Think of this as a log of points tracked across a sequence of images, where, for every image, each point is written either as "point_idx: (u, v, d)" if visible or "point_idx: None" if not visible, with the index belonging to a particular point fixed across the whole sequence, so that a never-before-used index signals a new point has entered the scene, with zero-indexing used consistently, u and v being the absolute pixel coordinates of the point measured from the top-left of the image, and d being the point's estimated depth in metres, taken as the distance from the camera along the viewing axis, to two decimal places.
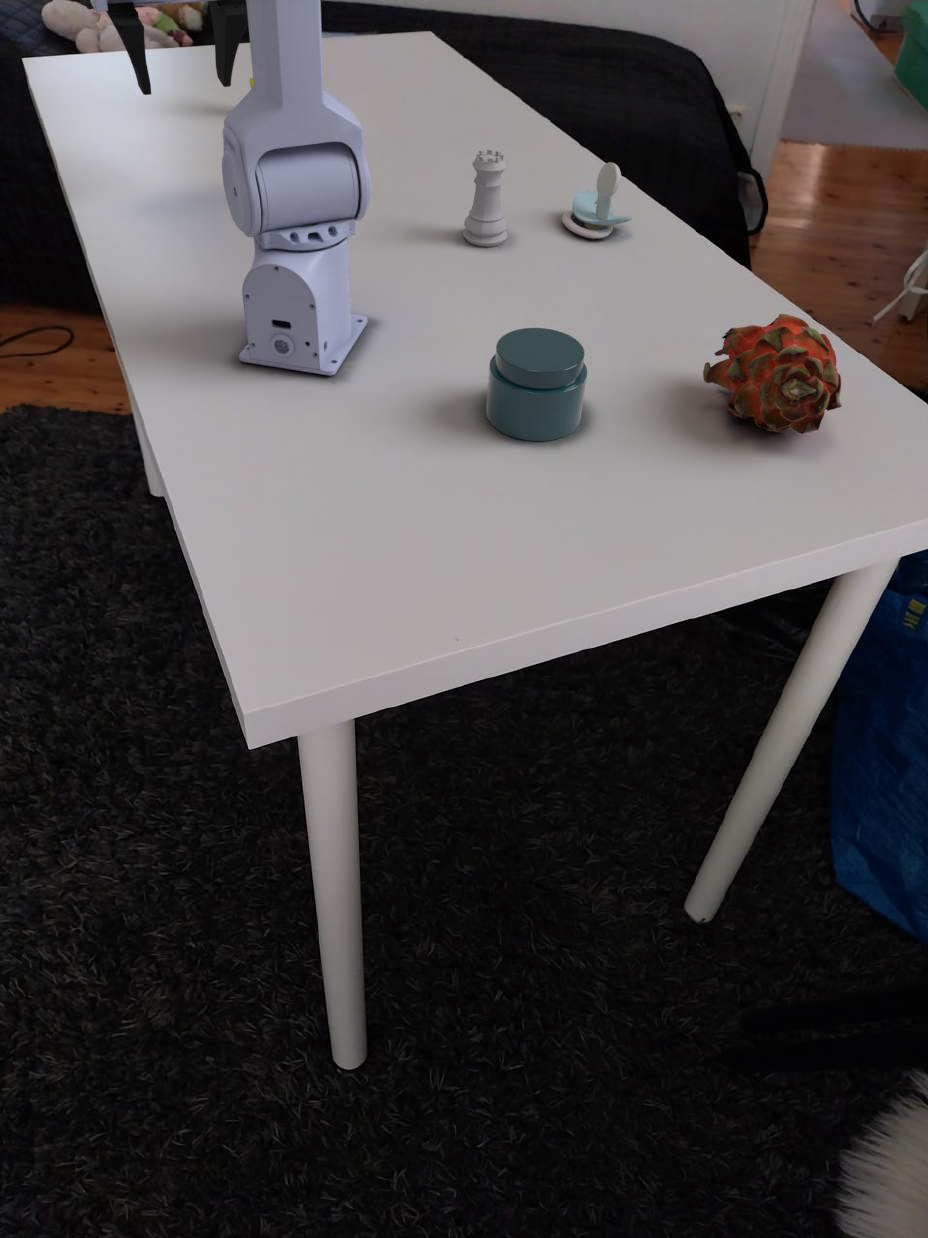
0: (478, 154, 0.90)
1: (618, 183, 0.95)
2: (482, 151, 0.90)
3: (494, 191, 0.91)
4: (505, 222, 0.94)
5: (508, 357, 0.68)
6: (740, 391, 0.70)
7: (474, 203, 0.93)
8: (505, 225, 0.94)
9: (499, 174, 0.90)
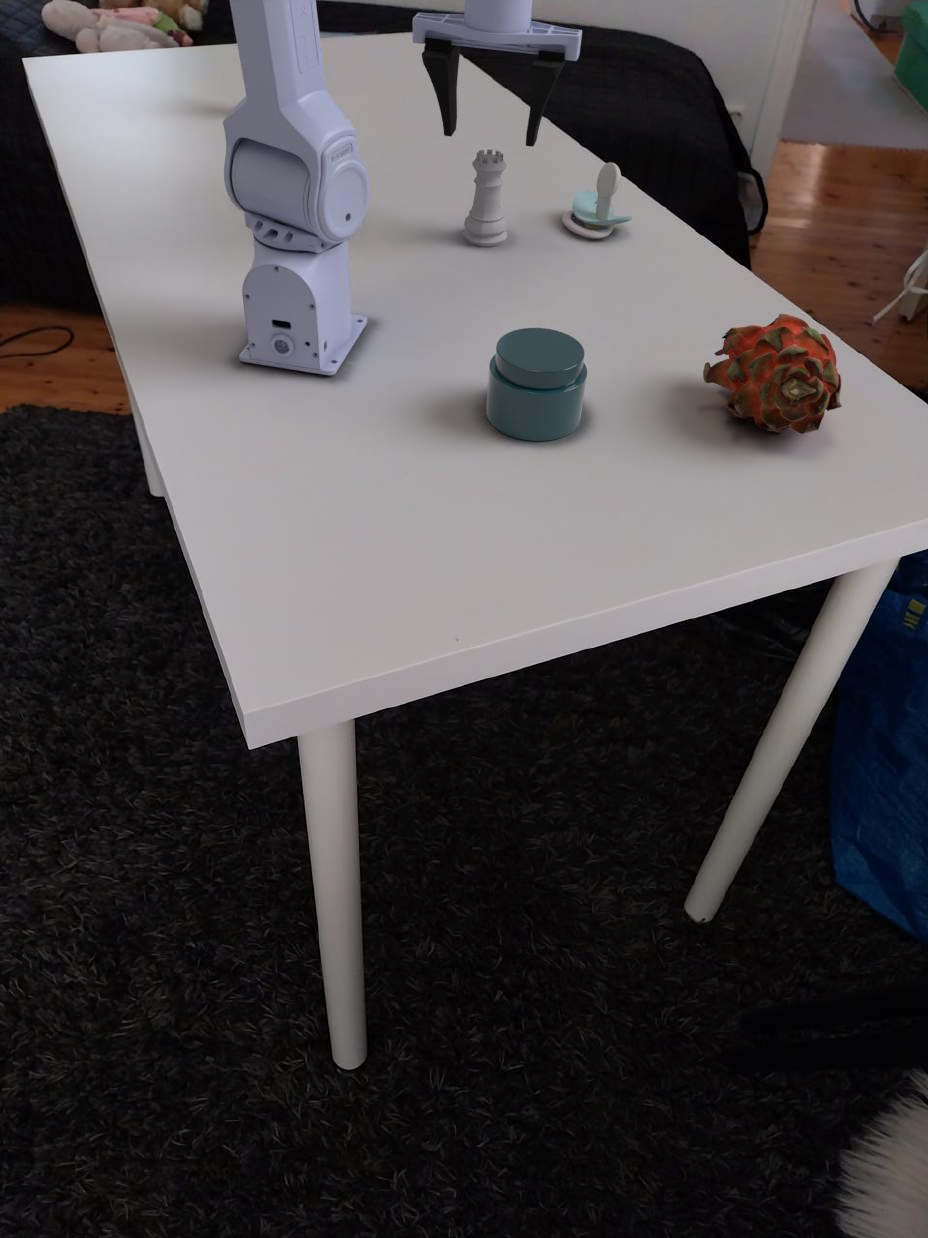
0: (478, 154, 0.90)
1: (618, 183, 0.95)
2: (482, 151, 0.90)
3: (494, 191, 0.91)
4: (505, 222, 0.94)
5: (508, 357, 0.68)
6: (740, 391, 0.70)
7: (474, 203, 0.93)
8: (505, 225, 0.94)
9: (499, 174, 0.90)
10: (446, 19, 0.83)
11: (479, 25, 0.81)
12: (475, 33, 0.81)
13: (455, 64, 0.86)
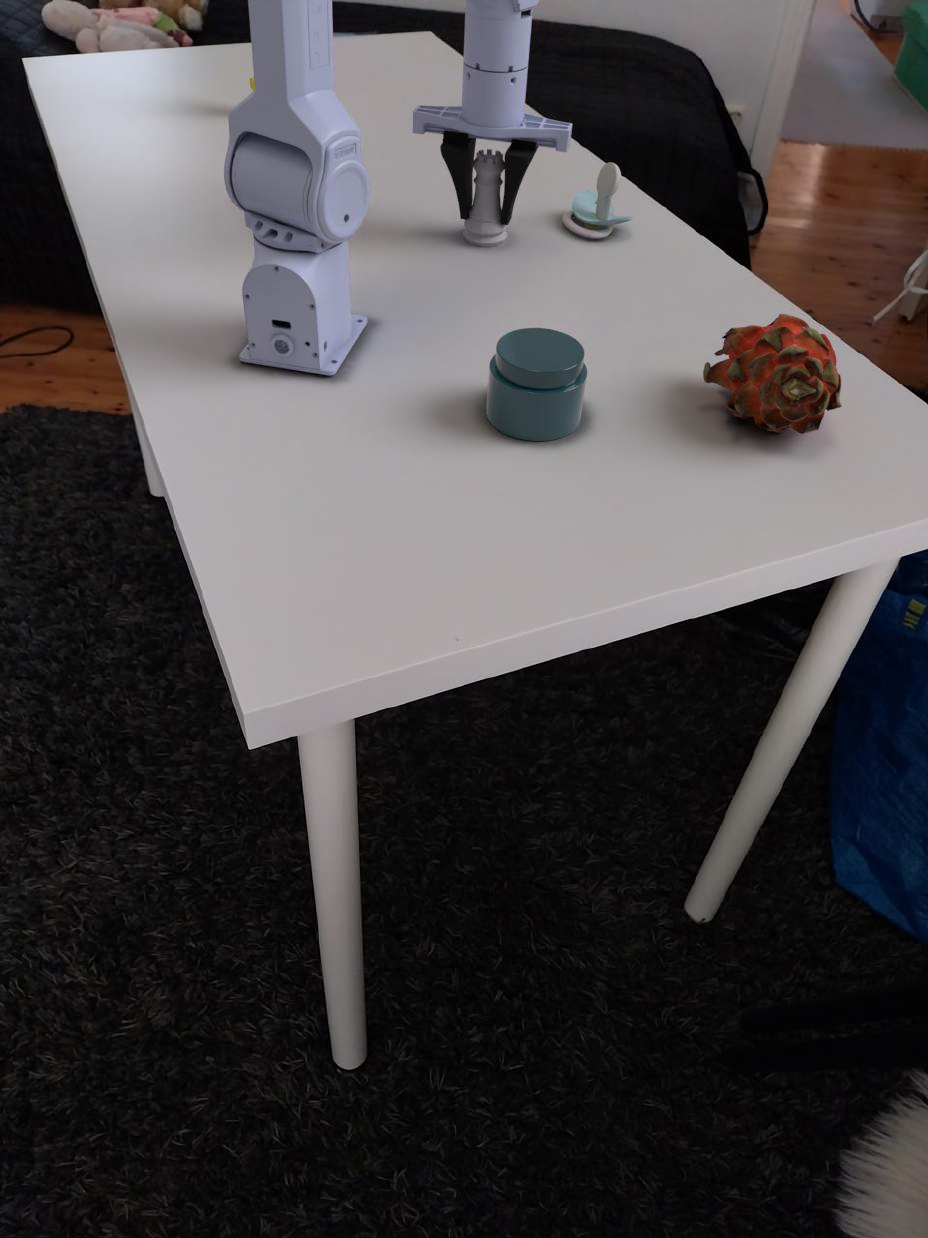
0: (478, 154, 0.90)
1: (618, 183, 0.95)
2: (482, 151, 0.90)
3: (494, 191, 0.91)
4: None
5: (508, 357, 0.68)
6: (740, 391, 0.70)
7: (474, 203, 0.93)
8: (505, 225, 0.94)
9: (499, 174, 0.90)
10: (444, 112, 0.88)
11: (475, 120, 0.86)
12: (471, 127, 0.86)
13: (471, 154, 0.91)
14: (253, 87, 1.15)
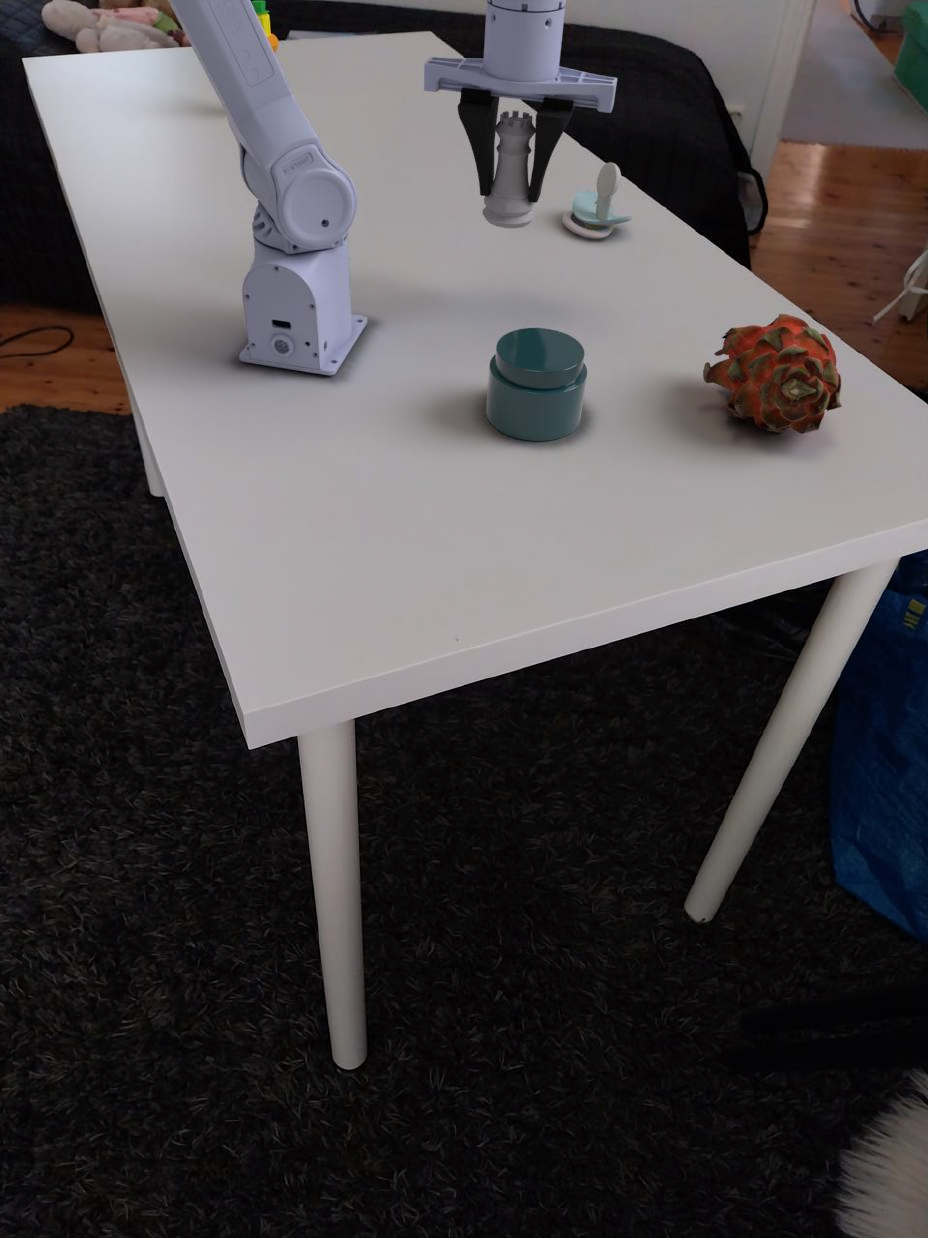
0: (502, 116, 0.75)
1: (618, 183, 0.95)
2: (507, 113, 0.75)
3: (521, 161, 0.76)
4: None
5: (508, 357, 0.68)
6: (740, 391, 0.70)
7: (496, 176, 0.78)
8: (533, 202, 0.79)
9: (527, 140, 0.75)
10: (462, 65, 0.73)
11: (501, 73, 0.71)
12: (496, 82, 0.71)
13: (494, 116, 0.76)
14: None
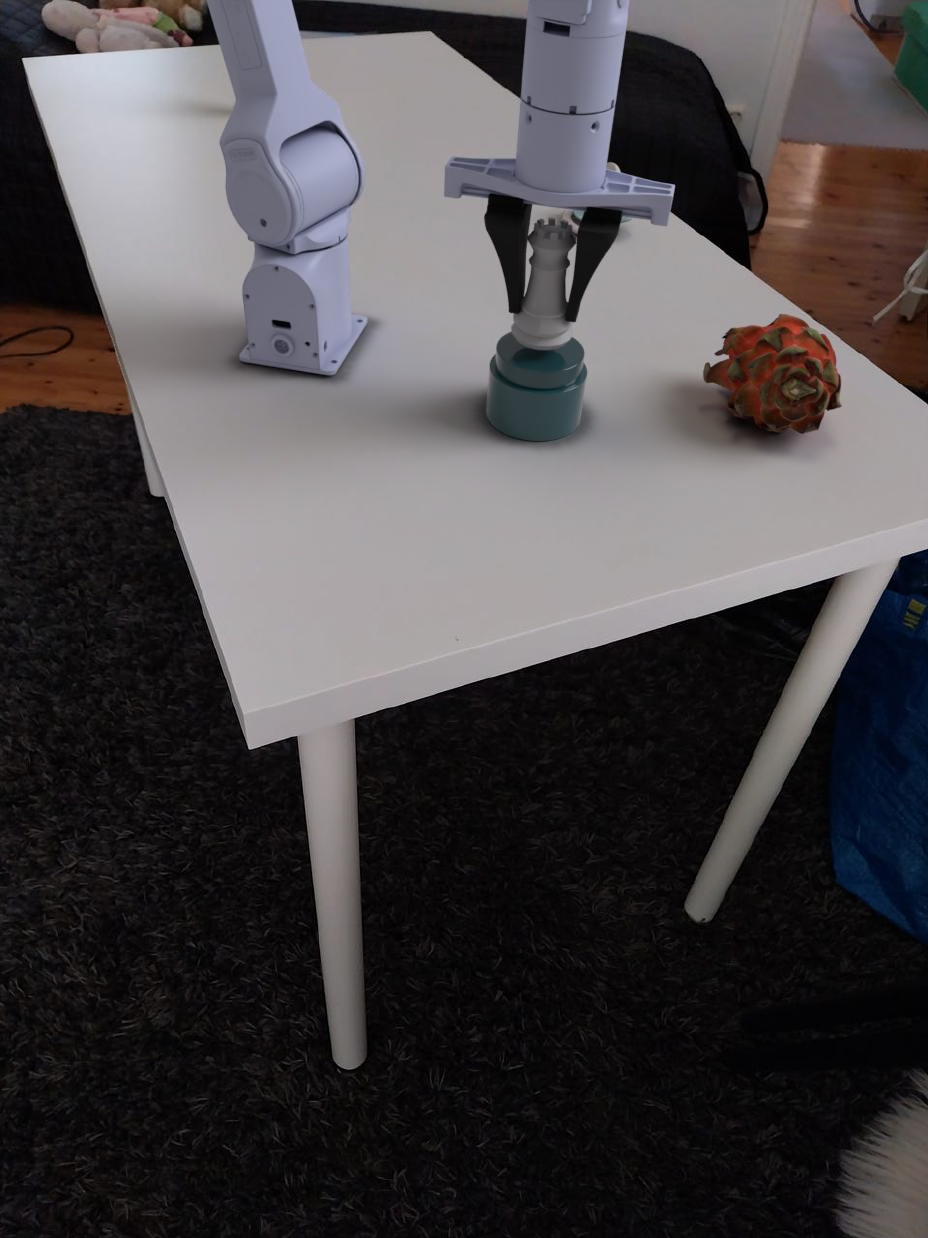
0: (537, 226, 0.63)
1: None
2: (542, 221, 0.64)
3: (558, 277, 0.65)
4: None
5: (508, 357, 0.68)
6: (740, 391, 0.70)
7: (528, 292, 0.66)
8: None
9: (566, 253, 0.64)
10: (490, 168, 0.61)
11: (537, 182, 0.59)
12: (531, 192, 0.59)
13: (526, 225, 0.64)
14: None
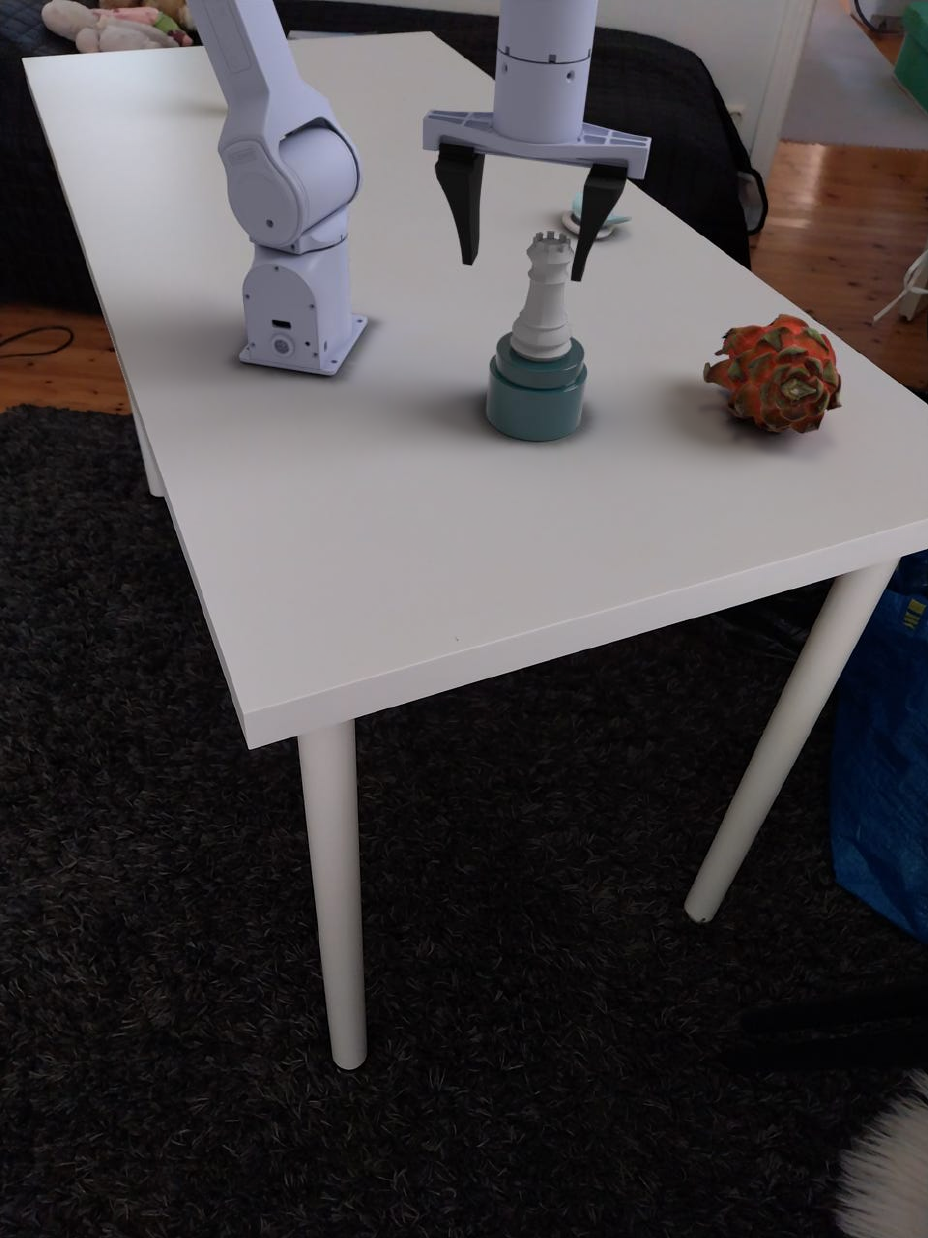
0: (535, 240, 0.64)
1: None
2: (540, 235, 0.64)
3: (557, 290, 0.65)
4: (569, 329, 0.68)
5: (508, 357, 0.68)
6: (740, 391, 0.70)
7: (527, 304, 0.67)
8: (569, 333, 0.68)
9: (564, 267, 0.64)
10: (468, 120, 0.62)
11: (513, 133, 0.59)
12: (508, 143, 0.60)
13: (479, 175, 0.65)
14: None
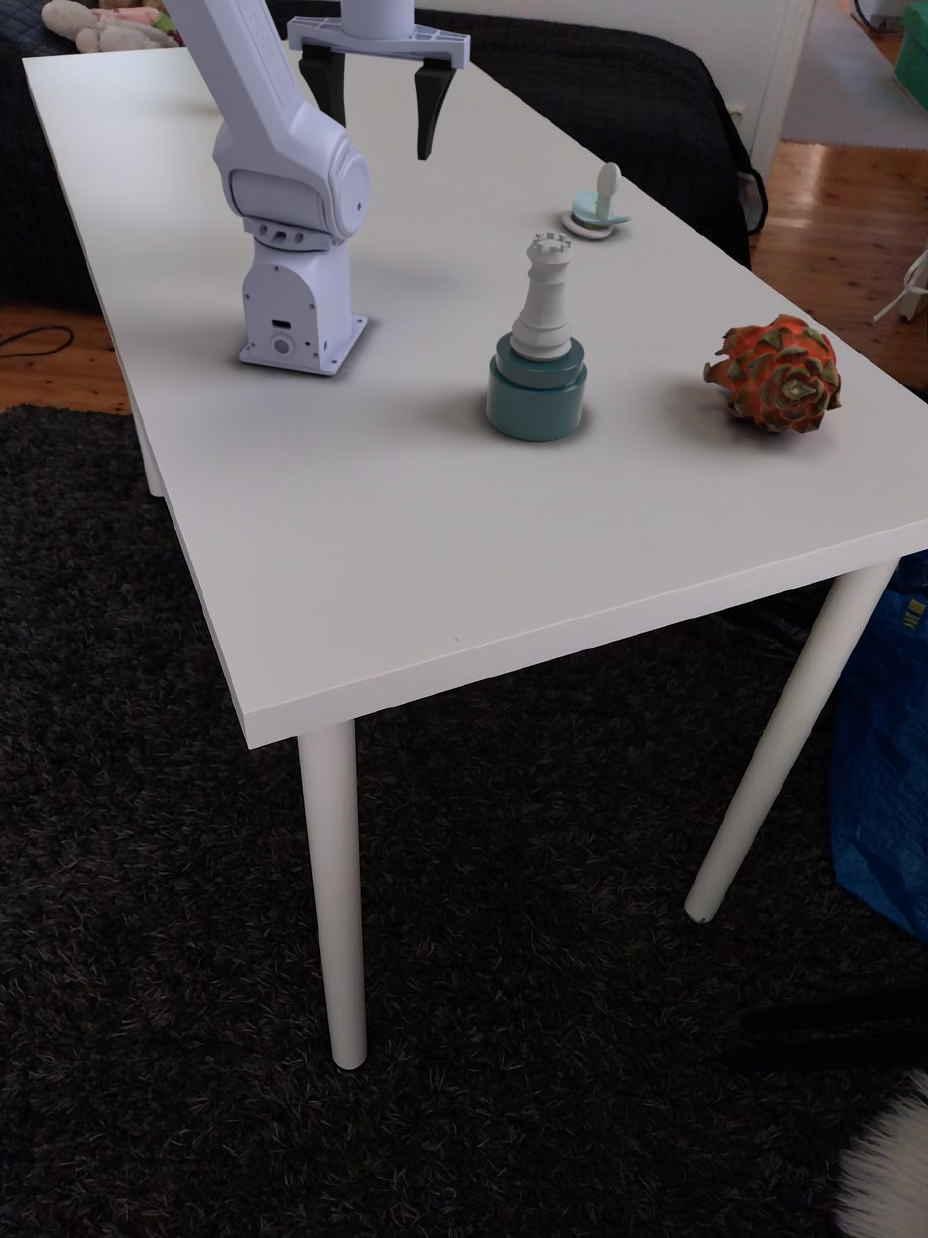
0: (535, 240, 0.64)
1: (618, 183, 0.95)
2: (540, 235, 0.64)
3: (556, 290, 0.65)
4: (569, 329, 0.68)
5: (508, 357, 0.68)
6: (740, 391, 0.70)
7: (527, 304, 0.67)
8: (569, 333, 0.68)
9: (564, 267, 0.64)
10: (323, 24, 0.76)
11: (355, 31, 0.74)
12: (351, 40, 0.74)
13: (338, 72, 0.79)
14: None
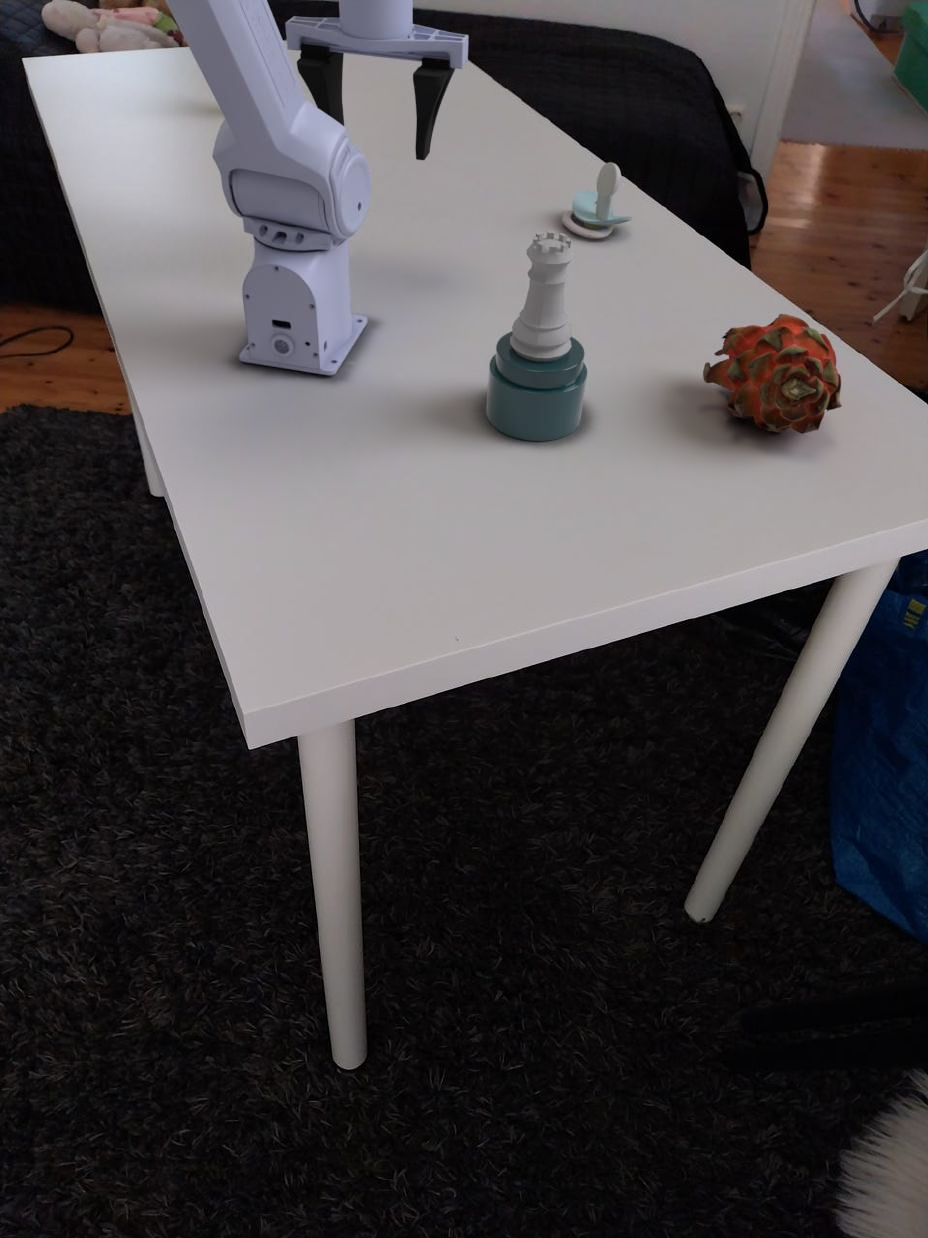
0: (535, 240, 0.64)
1: (618, 183, 0.95)
2: (540, 235, 0.64)
3: (556, 290, 0.65)
4: (569, 329, 0.68)
5: (508, 357, 0.68)
6: (740, 391, 0.70)
7: (527, 304, 0.67)
8: (569, 333, 0.68)
9: (564, 267, 0.64)
10: (322, 24, 0.76)
11: (353, 31, 0.74)
12: (350, 40, 0.74)
13: (337, 72, 0.80)
14: None
